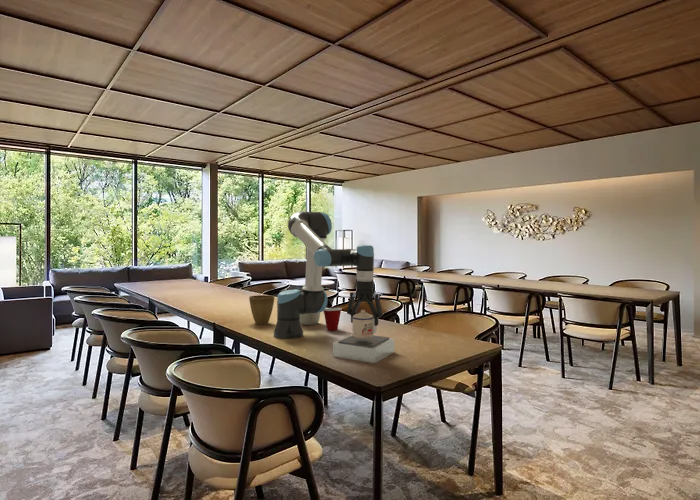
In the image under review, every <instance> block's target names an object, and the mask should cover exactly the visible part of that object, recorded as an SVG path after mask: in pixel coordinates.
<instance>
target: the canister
mask: <svg viewBox="0 0 700 500" xmlns="http://www.w3.org/2000/svg"><path fill="white" fill-rule="evenodd" d="M320 317H321V312H318V313H309V314H300V323H301V326H313V325H317V324H319V322H320Z"/></svg>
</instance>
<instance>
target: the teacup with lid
mask: <svg viewBox="0 0 700 500" xmlns="http://www.w3.org/2000/svg"><path fill="white" fill-rule="evenodd" d="M373 318H374V316H373V314H370V313H369V312H366V309H361V310H360V312H358V313H356V314H355V315H354V316H353V323H352V335H353V336H354V337H355V338H359V339H368V338H372V337H373V335H374V334H373V333H372V319H373Z"/></svg>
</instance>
